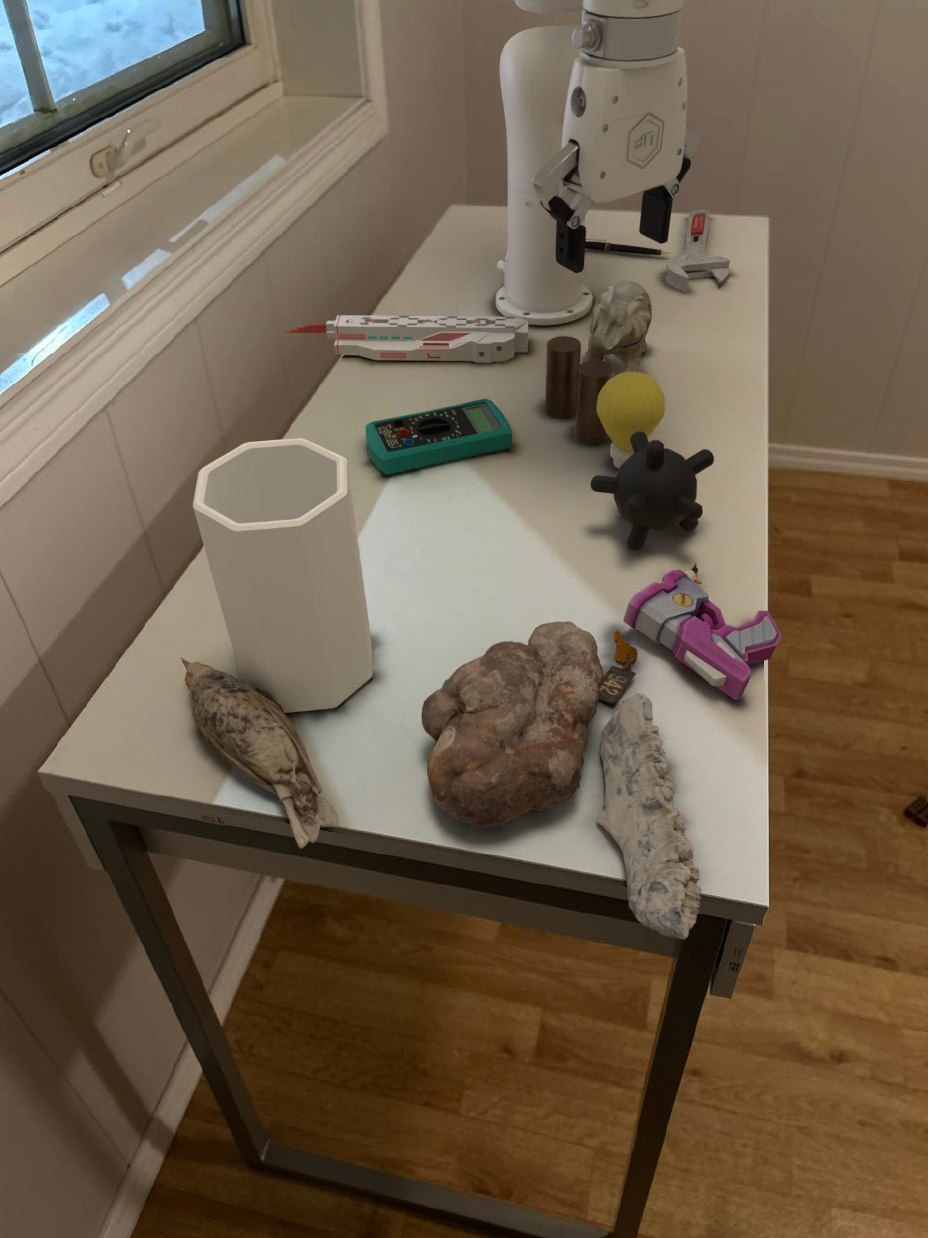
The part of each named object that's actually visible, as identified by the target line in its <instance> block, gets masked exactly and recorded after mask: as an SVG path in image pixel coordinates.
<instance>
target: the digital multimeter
mask: <svg viewBox="0 0 928 1238" xmlns="http://www.w3.org/2000/svg"><path fill="white" fill-rule="evenodd" d="M365 439H366V447H367V454H368V456H369V458H370V460H371V461H372V462H373V464H374V465H375V467H376V468H378V470H380V472H382V473H383V474H384V475H387V476H388V475H394V474H398V473H403V472H406V471H413V470H417V469H420V468H425V467H430V466H433V465H438V464H444V463H447V462H453V461H458V460H461V459H466V458H471V457H476V456H481V455H485V454H490V453H494V452H500V451H503V450H508V449H510V448H511V447H512V446H513V429H512V427H511V425H510V423H509V421H508V420H507V417H506V416H505V415H504V413H503V412H502V410H501V409H500V408H499V407H498V406H497V405H496V403H494V401H493V400H492V399H489V398H481V399H477V400H476V399H475V400H471V401H468V402H463V403H459V404H455V405H450V406H445V407H440V408H436V409H431V410H425V411H421V412H415V413H410V414H405V415H399V416H395V417H390V418H385V419H379V420H374V421H371V422H369V423H367V424H366V425H365Z"/></svg>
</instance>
